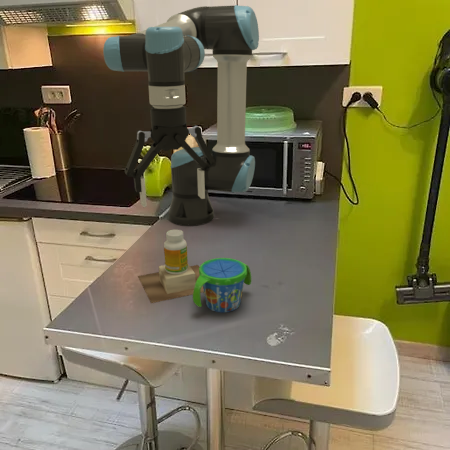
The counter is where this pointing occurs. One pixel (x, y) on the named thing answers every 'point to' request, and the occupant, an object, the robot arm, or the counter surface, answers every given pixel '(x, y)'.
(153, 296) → the board
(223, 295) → the snack cup
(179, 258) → the supplement bottle
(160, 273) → the birch block
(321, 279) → the counter surface
